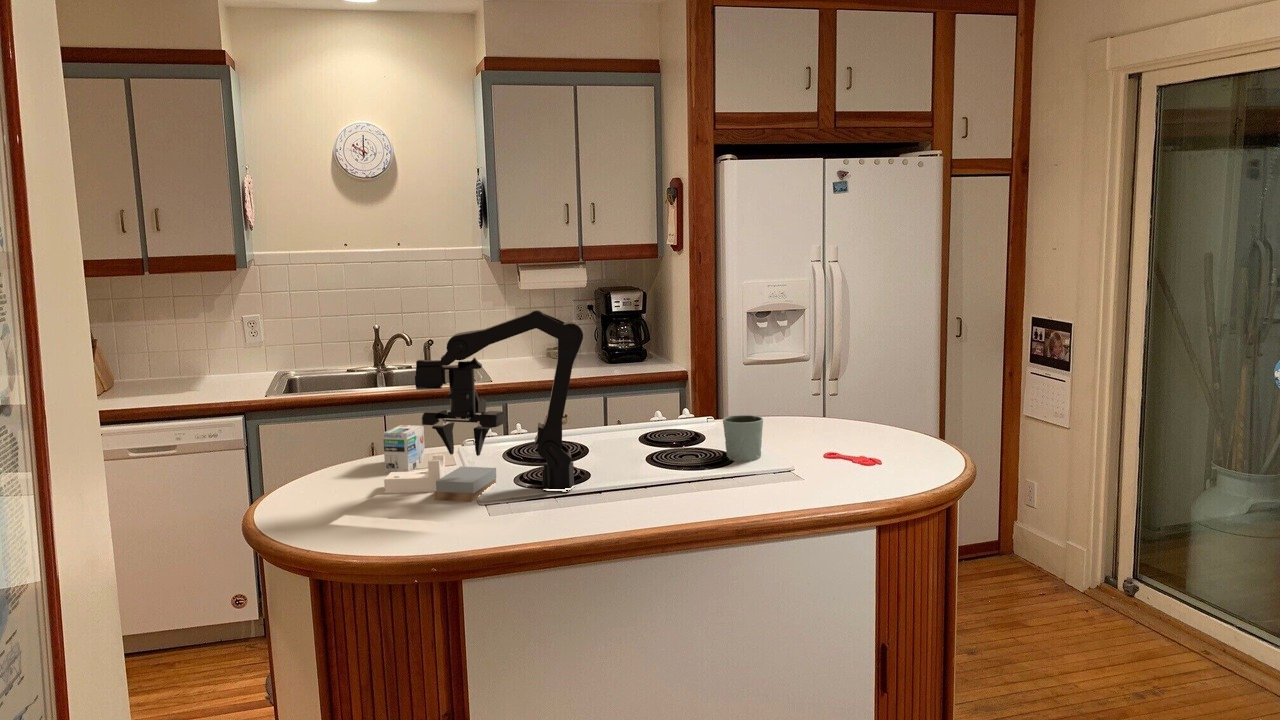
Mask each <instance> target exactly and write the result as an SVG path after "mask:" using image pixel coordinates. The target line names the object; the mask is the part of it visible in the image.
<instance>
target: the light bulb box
mask: <svg viewBox="0 0 1280 720" xmlns="http://www.w3.org/2000/svg"><path fill="white" fill-rule="evenodd" d="M424 427H425V426H424V425H408V424H406V425H405V424H400V425H398V426H395V427H393V428H391V429H389V430H387V431H384V432H382V436H383V437H382V440H383V453H384V472H385V473H391V472H413V471H414V469H416V468H417V467H419V466H420V465H421V464H422V463H421V462H423V461H424V460H425V461H426V453H425V452H426V451H425V450H426V449H425V431H424ZM425 461H424V462H425ZM424 462H423V463H424ZM420 463H421V464H420ZM419 464H420V465H419ZM418 465H419V466H418Z"/></svg>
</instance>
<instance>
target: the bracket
mask: <svg viewBox="0 0 1280 720" xmlns="http://www.w3.org/2000/svg"><path fill="white" fill-rule="evenodd" d="M445 465H446V462H445V454H441V453H440V454H433V455H432V460H430V459H429V460H428V461H427V469H428V470H425V471H424V470H422V471H420V470H417V471H414V470H413V471H410V472H389V473H388V474H387V476H385V478H384V479H383V482H384V483H383V485H384V487H383V488H384V494H393V493H395V494H396V493H397V494H398V493H400V494H401V493H402V494H403V493H430V492H431V493H434V492H435V491H436V481H437V480H439V479H440V478H442V477H444V476H446V466H445Z"/></svg>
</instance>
